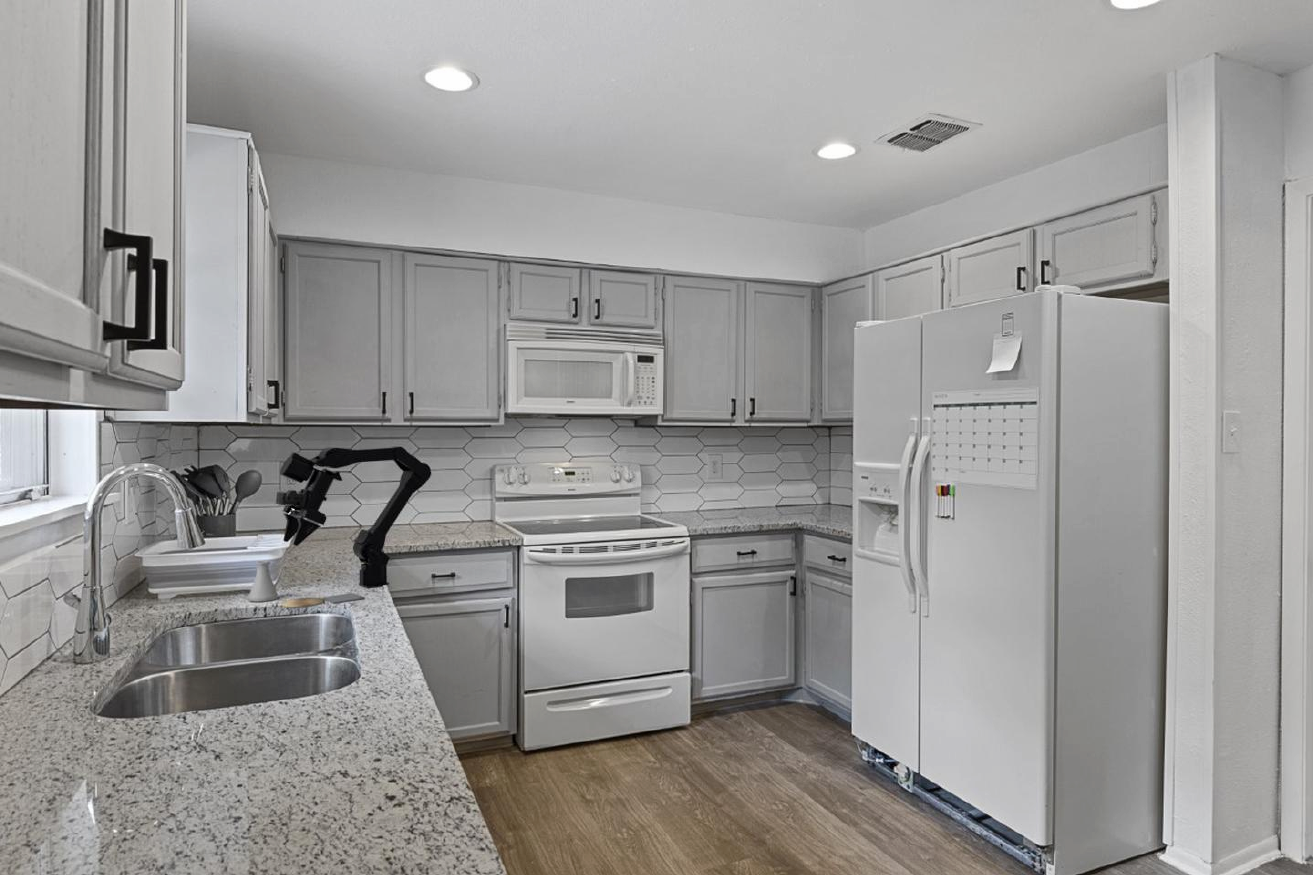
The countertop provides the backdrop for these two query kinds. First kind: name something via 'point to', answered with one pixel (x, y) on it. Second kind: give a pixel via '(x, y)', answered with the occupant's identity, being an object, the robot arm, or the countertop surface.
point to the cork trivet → (302, 602)
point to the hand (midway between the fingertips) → (290, 543)
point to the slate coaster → (343, 598)
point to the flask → (263, 584)
